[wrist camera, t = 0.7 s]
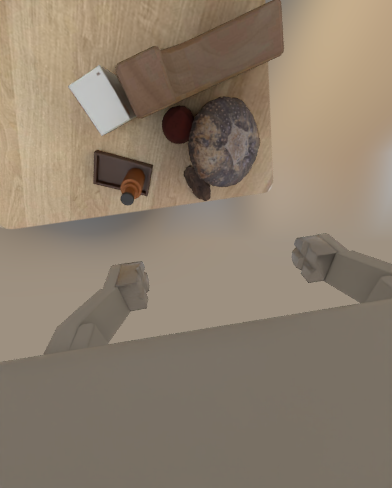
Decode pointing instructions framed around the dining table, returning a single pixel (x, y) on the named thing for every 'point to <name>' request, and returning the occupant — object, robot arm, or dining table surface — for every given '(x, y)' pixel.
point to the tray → (117, 170)
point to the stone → (197, 184)
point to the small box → (103, 99)
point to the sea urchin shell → (223, 142)
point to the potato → (177, 124)
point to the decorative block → (202, 60)
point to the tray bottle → (132, 185)
